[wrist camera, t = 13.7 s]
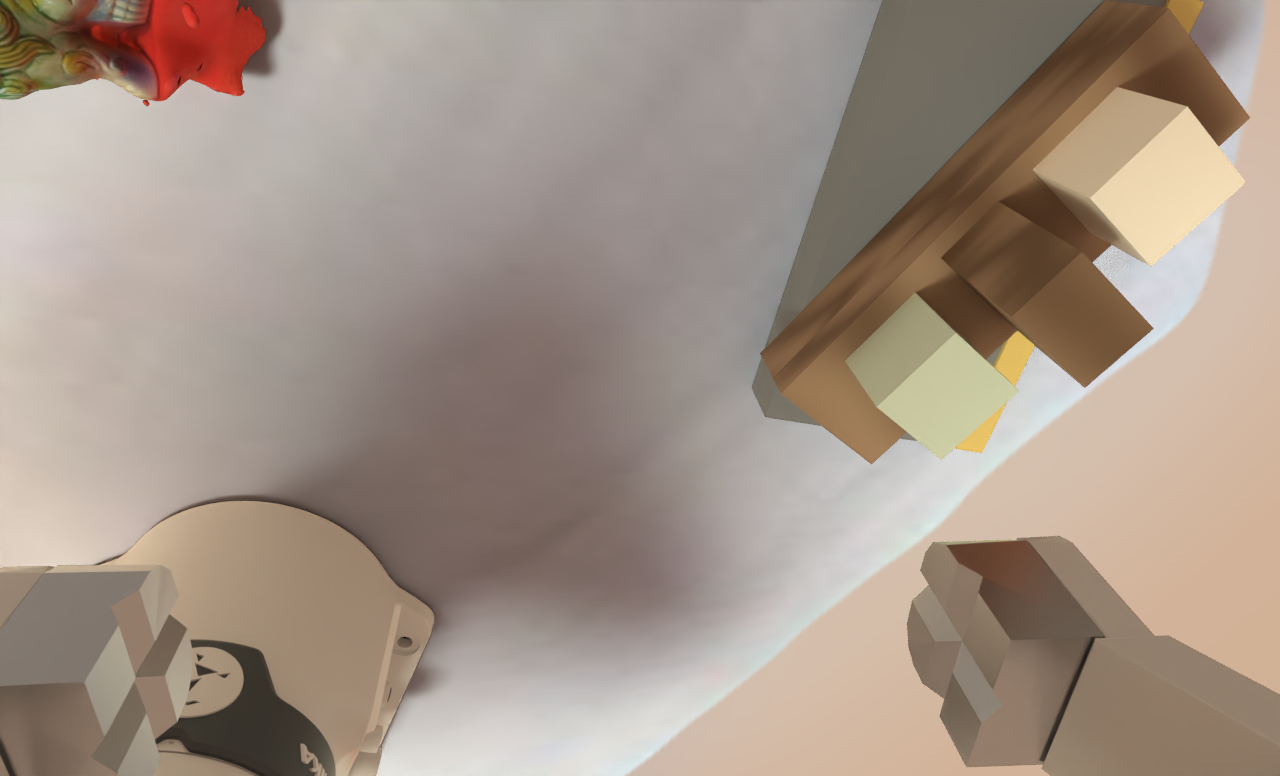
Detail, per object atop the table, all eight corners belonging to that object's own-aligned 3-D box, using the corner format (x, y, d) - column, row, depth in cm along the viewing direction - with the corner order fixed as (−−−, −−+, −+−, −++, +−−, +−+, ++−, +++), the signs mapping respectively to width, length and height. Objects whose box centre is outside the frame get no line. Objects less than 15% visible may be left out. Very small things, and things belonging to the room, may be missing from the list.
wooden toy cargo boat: (844, 420, 43) (922, 547, 34) (760, 353, 40) (819, 471, 32) (1182, 99, 36) (1383, 153, 28) (1105, 0, 34) (1297, 24, 25)
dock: (955, 421, 47) (981, 452, 44) (751, 388, 45) (766, 418, 42) (1154, -4, 37) (1204, 2, 35) (908, -78, 35) (941, -77, 32)
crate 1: (904, 410, 38) (941, 460, 34) (844, 361, 36) (876, 407, 33) (974, 346, 37) (1019, 391, 33) (915, 292, 35) (956, 332, 32)
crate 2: (1090, 232, 35) (1151, 266, 31) (1032, 169, 33) (1090, 198, 30) (1172, 155, 33) (1246, 182, 30) (1117, 86, 32) (1187, 106, 28)
